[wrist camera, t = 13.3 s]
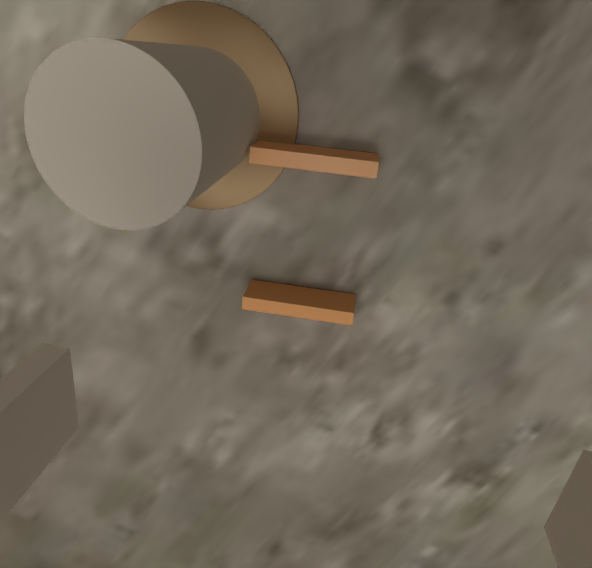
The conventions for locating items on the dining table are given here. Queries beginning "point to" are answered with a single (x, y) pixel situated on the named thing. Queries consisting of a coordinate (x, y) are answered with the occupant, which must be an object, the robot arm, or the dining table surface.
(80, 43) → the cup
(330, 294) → the bars
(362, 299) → the dining table surface
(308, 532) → the dining table surface
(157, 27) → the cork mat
